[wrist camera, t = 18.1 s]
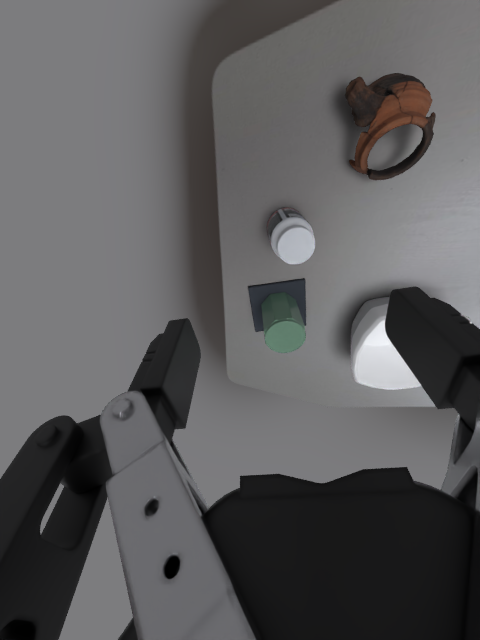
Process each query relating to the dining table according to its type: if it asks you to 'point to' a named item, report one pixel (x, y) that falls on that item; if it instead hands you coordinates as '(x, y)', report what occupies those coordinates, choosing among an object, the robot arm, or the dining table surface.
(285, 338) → the cup
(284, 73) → the dining table surface
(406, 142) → the dining table surface
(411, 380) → the bowl
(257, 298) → the coaster
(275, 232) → the pill bottle
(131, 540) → the robot arm
